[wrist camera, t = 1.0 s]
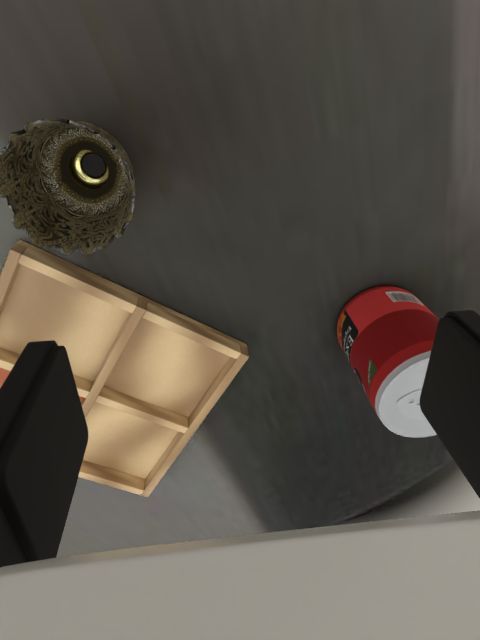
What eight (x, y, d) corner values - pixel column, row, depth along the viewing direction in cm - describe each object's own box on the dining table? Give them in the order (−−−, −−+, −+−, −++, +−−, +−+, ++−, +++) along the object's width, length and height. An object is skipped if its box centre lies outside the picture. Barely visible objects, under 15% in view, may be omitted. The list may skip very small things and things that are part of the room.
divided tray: (-50, 419, 41) (-61, 436, 39) (20, 238, 33) (10, 249, 31) (149, 481, 47) (147, 497, 46) (246, 343, 40) (249, 356, 38)
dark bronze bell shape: (160, 203, 32) (152, 239, 26) (66, 227, 33) (32, 269, 26) (125, 94, 29) (104, 102, 22) (19, 122, 29) (-35, 138, 22)
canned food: (320, 309, 39) (362, 387, 29) (404, 266, 37) (477, 334, 28) (351, 367, 42) (397, 454, 33) (428, 330, 41) (500, 409, 31)
